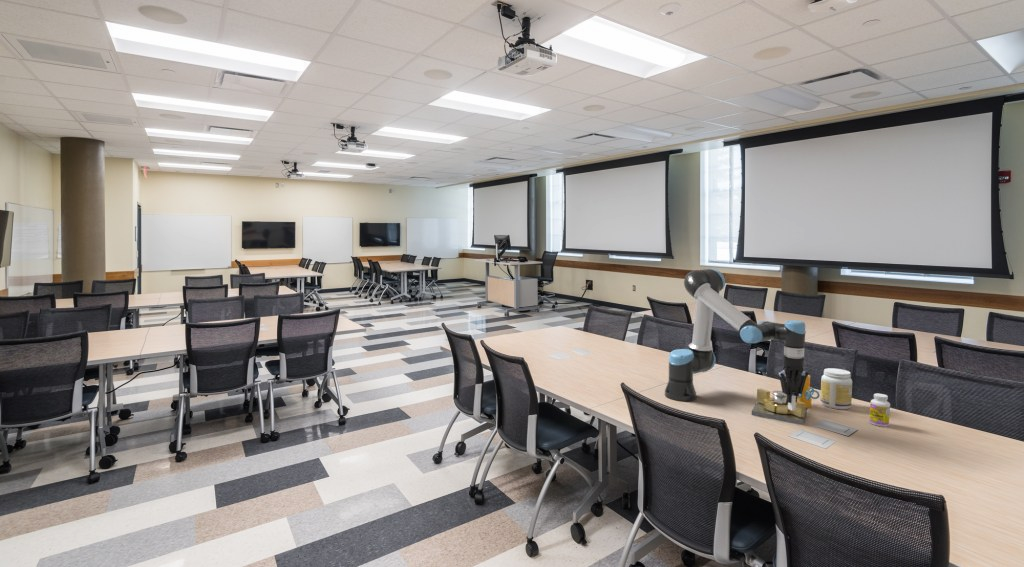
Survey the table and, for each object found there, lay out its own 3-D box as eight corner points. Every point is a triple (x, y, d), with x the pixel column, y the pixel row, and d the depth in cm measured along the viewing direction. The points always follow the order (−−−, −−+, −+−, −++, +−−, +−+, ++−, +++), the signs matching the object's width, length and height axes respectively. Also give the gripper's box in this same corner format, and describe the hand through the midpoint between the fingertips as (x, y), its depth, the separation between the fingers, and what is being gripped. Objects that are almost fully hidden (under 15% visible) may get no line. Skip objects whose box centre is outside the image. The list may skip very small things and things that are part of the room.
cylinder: (821, 411, 215) (823, 379, 214) (796, 409, 217) (798, 378, 216) (810, 402, 227) (812, 372, 226) (787, 400, 229) (788, 371, 228)
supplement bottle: (865, 422, 202) (867, 393, 200) (874, 420, 204) (876, 391, 203) (882, 428, 195) (884, 398, 194) (892, 425, 198) (894, 396, 197)
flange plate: (751, 414, 211) (752, 394, 211) (758, 403, 226) (759, 383, 225) (803, 425, 199) (804, 403, 199) (807, 412, 214) (808, 391, 213)
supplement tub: (852, 405, 222) (855, 370, 221) (848, 412, 214) (851, 376, 212) (822, 399, 231) (824, 366, 229) (817, 406, 222) (819, 371, 220)
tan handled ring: (749, 402, 220) (749, 390, 219) (767, 399, 225) (768, 387, 224) (793, 419, 200) (793, 405, 199) (812, 414, 205) (813, 401, 204)
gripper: (785, 359, 196) (782, 413, 198) (814, 358, 197) (811, 412, 199) (773, 354, 204) (771, 407, 206) (802, 353, 205) (799, 405, 207)
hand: (791, 409), depth 203 cm, fingers closed
